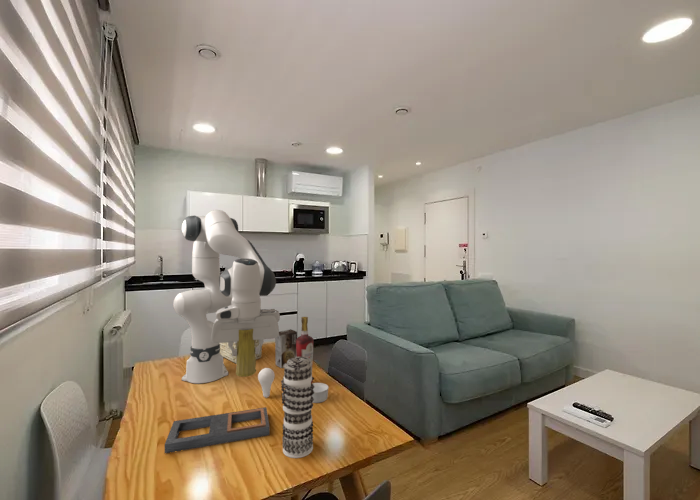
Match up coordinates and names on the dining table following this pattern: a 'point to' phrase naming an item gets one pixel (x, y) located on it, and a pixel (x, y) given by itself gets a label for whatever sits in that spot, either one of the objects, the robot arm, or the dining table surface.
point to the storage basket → (227, 352)
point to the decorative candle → (297, 407)
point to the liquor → (305, 343)
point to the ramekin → (320, 392)
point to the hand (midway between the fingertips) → (246, 354)
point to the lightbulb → (266, 380)
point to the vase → (246, 354)
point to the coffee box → (285, 347)
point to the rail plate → (217, 429)
